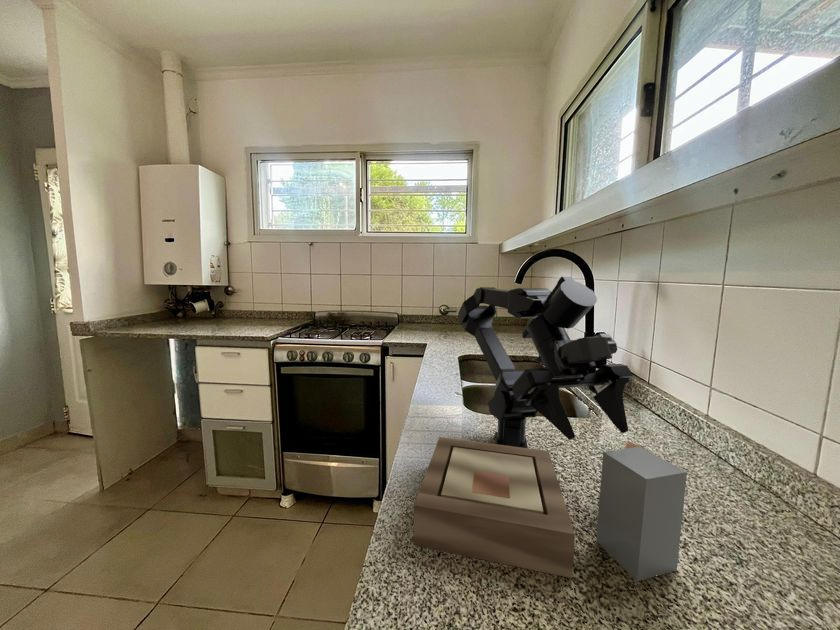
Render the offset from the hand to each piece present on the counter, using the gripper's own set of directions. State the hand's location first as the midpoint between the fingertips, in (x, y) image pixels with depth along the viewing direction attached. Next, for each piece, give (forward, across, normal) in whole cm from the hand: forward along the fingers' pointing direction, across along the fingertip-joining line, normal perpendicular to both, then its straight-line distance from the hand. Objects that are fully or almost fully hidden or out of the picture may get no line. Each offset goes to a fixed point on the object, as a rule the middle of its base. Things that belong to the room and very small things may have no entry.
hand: (599, 435), depth 46 cm
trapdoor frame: (+5, -14, +13) cm, 20 cm away
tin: (+8, +8, +10) cm, 15 cm away
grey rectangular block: (+14, 0, +4) cm, 14 cm away
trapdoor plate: (+2, -14, +9) cm, 17 cm away
